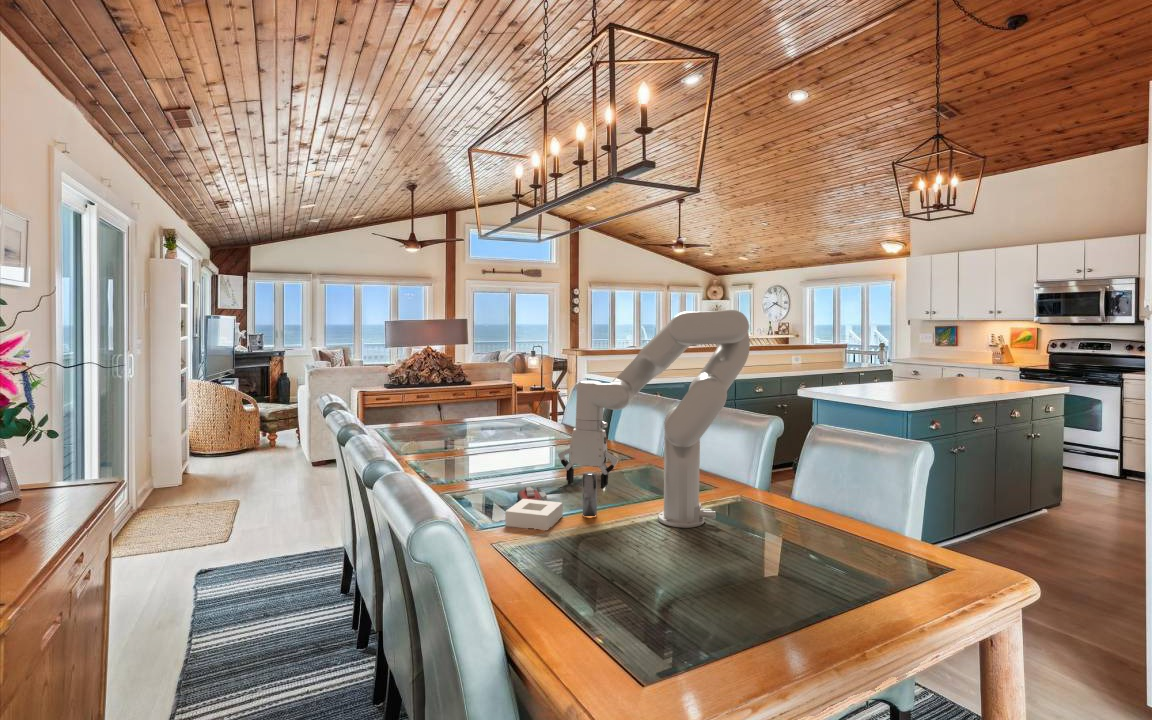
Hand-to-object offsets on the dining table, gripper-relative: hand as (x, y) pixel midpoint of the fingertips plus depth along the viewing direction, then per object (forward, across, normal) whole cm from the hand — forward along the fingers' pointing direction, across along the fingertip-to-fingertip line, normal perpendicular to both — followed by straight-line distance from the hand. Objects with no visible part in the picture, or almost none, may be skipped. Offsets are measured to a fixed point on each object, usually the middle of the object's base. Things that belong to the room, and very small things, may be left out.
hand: (586, 485), depth 168 cm
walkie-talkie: (+10, +20, -9) cm, 24 cm away
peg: (+9, -1, 0) cm, 9 cm away
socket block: (+9, +12, +9) cm, 17 cm away
